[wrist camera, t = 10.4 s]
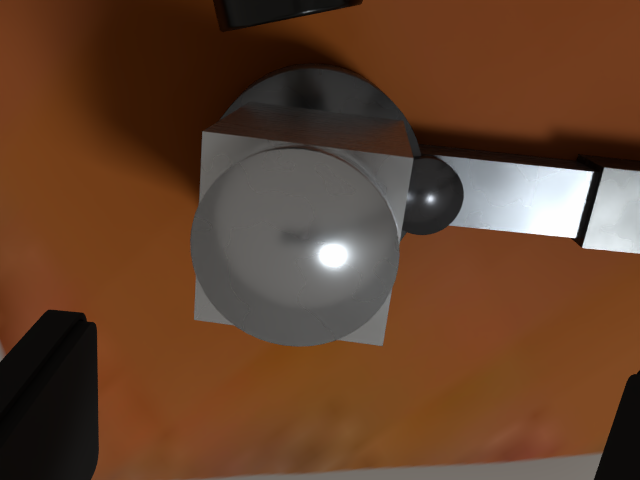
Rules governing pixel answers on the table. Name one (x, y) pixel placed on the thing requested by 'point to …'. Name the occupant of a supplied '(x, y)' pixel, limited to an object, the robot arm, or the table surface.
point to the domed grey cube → (300, 223)
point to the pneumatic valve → (270, 10)
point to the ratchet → (478, 172)
